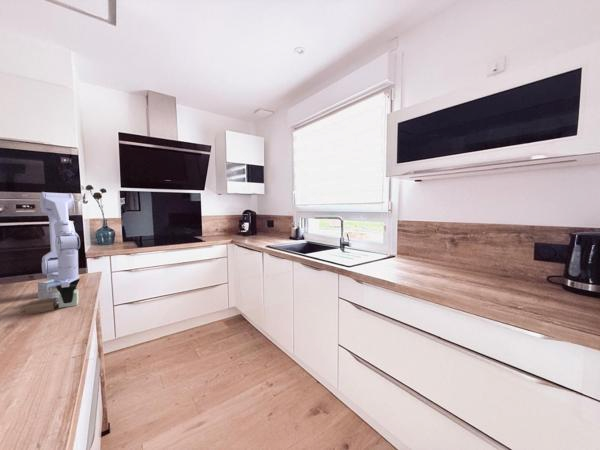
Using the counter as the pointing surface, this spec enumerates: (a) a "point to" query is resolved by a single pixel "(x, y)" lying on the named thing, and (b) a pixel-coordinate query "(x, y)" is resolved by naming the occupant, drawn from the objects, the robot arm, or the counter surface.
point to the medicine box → (48, 289)
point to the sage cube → (74, 300)
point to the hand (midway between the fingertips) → (69, 300)
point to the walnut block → (40, 305)
